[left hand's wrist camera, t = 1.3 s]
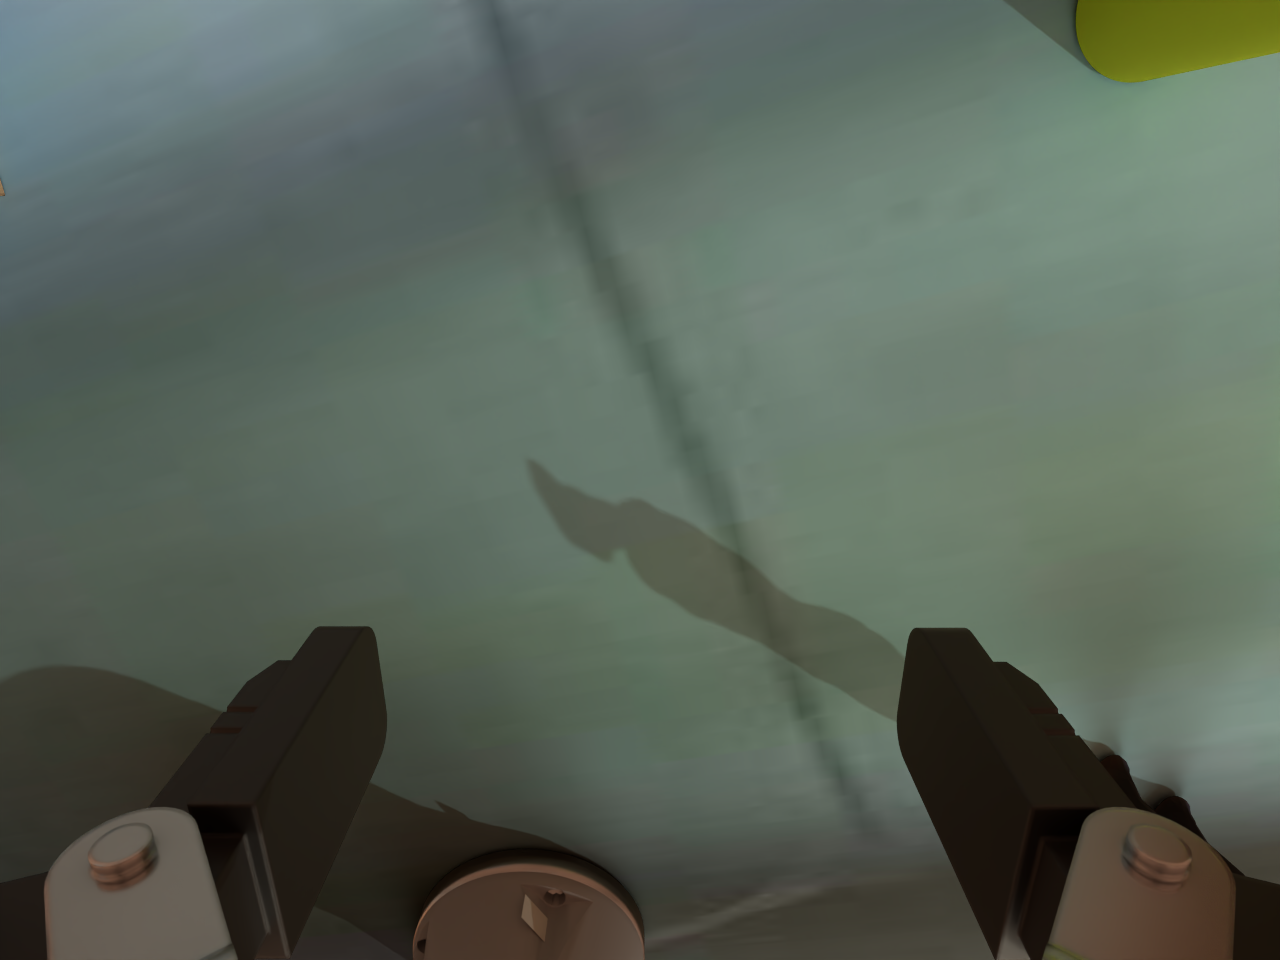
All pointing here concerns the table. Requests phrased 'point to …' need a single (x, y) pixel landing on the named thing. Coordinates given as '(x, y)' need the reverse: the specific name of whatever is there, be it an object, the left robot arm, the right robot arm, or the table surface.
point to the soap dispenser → (1173, 35)
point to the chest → (1, 190)
